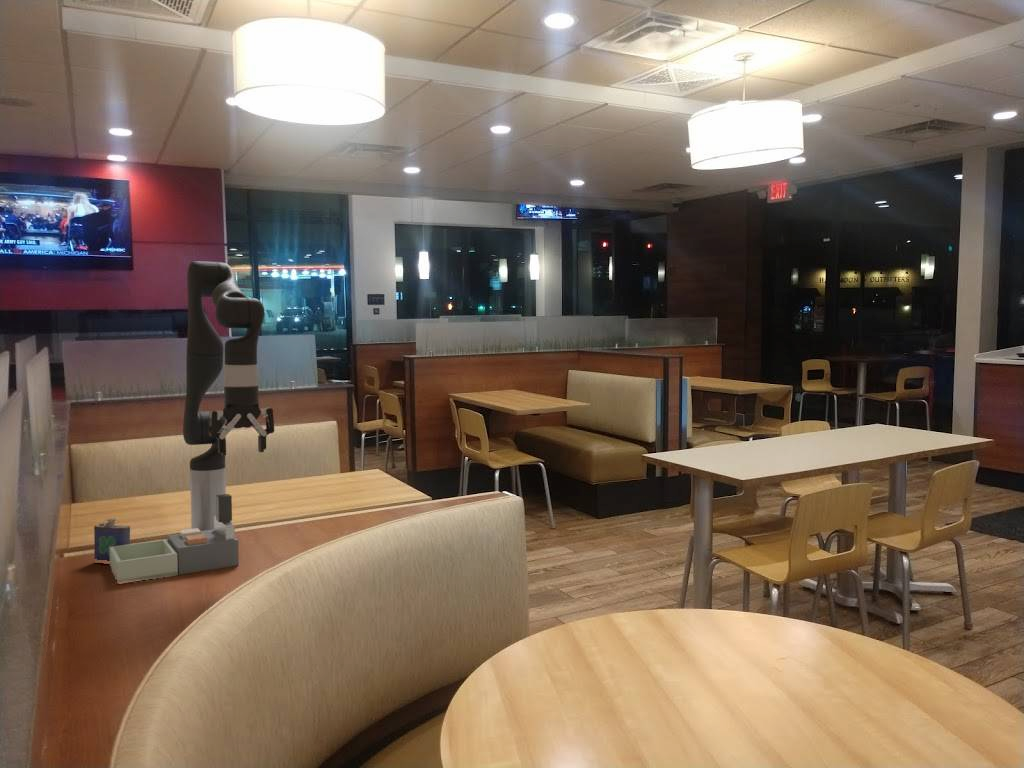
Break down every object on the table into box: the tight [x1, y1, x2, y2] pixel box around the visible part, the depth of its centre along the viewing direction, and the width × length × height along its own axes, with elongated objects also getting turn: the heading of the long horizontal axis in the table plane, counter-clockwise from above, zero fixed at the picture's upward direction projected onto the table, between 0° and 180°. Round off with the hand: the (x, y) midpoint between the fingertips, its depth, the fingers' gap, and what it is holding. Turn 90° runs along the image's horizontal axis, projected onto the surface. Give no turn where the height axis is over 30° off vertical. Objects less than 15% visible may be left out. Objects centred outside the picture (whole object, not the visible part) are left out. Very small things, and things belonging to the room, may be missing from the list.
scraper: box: [214, 493, 236, 540], centre depth 180 cm, size 12×3×10 cm, turn 34°
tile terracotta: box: [185, 534, 207, 545], centre depth 173 cm, size 4×4×1 cm
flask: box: [93, 518, 131, 561], centre depth 177 cm, size 9×3×11 cm, turn 78°
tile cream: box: [179, 528, 201, 539], centre depth 179 cm, size 4×4×1 cm
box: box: [109, 539, 179, 583], centre depth 170 cm, size 15×12×5 cm
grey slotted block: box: [166, 529, 240, 576], centre depth 177 cm, size 14×13×6 cm
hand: (242, 453), depth 174 cm, fingers open, 8 cm apart
